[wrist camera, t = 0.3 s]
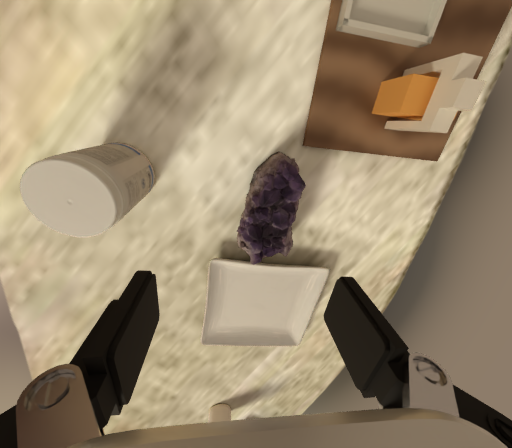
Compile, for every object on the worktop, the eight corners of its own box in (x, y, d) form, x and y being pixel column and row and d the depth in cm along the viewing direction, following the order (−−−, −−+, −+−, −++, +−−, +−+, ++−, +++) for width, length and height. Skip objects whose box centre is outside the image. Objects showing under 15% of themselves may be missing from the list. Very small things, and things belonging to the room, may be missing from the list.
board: (349, -89, 25) (353, -97, 24) (524, -36, 29) (533, -41, 28) (302, 145, 37) (304, 145, 36) (432, 160, 41) (437, 161, 40)
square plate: (296, 334, 61) (300, 347, 58) (201, 332, 56) (199, 346, 53) (326, 260, 50) (333, 270, 46) (210, 249, 45) (209, 260, 41)
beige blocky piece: (404, 69, 32) (479, 47, 23) (420, 72, 33) (500, 52, 23) (384, 128, 36) (441, 131, 26) (398, 130, 37) (460, 133, 27)
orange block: (381, 81, 33) (413, 73, 27) (430, 90, 34) (470, 84, 29) (371, 113, 35) (399, 112, 29) (418, 120, 36) (453, 120, 30)
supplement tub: (83, 164, 34) (-7, 191, 21) (124, 129, 33) (53, 135, 20) (130, 208, 39) (79, 252, 26) (169, 178, 37) (135, 210, 24)
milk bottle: (208, 404, 72) (200, 497, 54) (230, 401, 73) (230, 492, 55) (210, 415, 76) (203, 505, 58) (231, 412, 76) (231, 500, 59)
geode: (241, 145, 36) (255, 151, 27) (301, 154, 39) (330, 162, 31) (228, 246, 44) (236, 276, 35) (279, 246, 47) (297, 274, 39)
